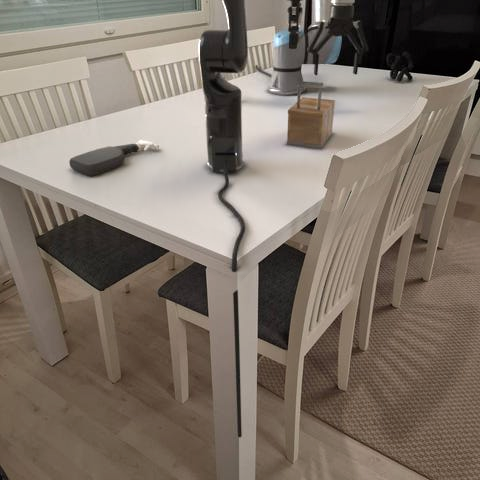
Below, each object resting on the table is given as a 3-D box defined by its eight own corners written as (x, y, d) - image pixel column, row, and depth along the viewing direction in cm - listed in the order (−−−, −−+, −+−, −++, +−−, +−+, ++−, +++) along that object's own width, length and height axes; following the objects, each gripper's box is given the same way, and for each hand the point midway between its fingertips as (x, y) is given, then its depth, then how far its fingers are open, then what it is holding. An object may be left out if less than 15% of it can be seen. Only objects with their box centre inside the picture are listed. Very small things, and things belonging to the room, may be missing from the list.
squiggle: (400, 92, 202) (376, 71, 205) (417, 76, 202) (392, 56, 205) (405, 81, 191) (380, 59, 194) (423, 64, 191) (397, 42, 194)
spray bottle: (67, 168, 120) (139, 144, 136) (91, 178, 114) (163, 151, 130) (65, 157, 118) (137, 134, 134) (89, 167, 112) (162, 142, 128)
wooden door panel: (322, 117, 124) (325, 86, 120) (287, 113, 128) (288, 83, 123) (334, 103, 136) (337, 74, 131) (302, 100, 139) (303, 72, 135)
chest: (320, 148, 129) (323, 117, 125) (286, 144, 133) (288, 113, 128) (331, 133, 141) (334, 103, 136) (300, 129, 144) (302, 100, 139)
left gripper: (283, -22, 123) (281, 42, 131) (280, -20, 111) (278, 50, 119) (311, -22, 122) (307, 42, 130) (310, -21, 110) (306, 50, 118)
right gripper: (305, 5, 138) (300, 77, 150) (384, 4, 139) (374, 75, 150) (301, 3, 145) (297, 72, 156) (377, 2, 145) (368, 71, 157)
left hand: (293, 46), depth 125 cm, fingers open, 8 cm apart
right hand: (335, 74), depth 153 cm, fingers open, 13 cm apart
